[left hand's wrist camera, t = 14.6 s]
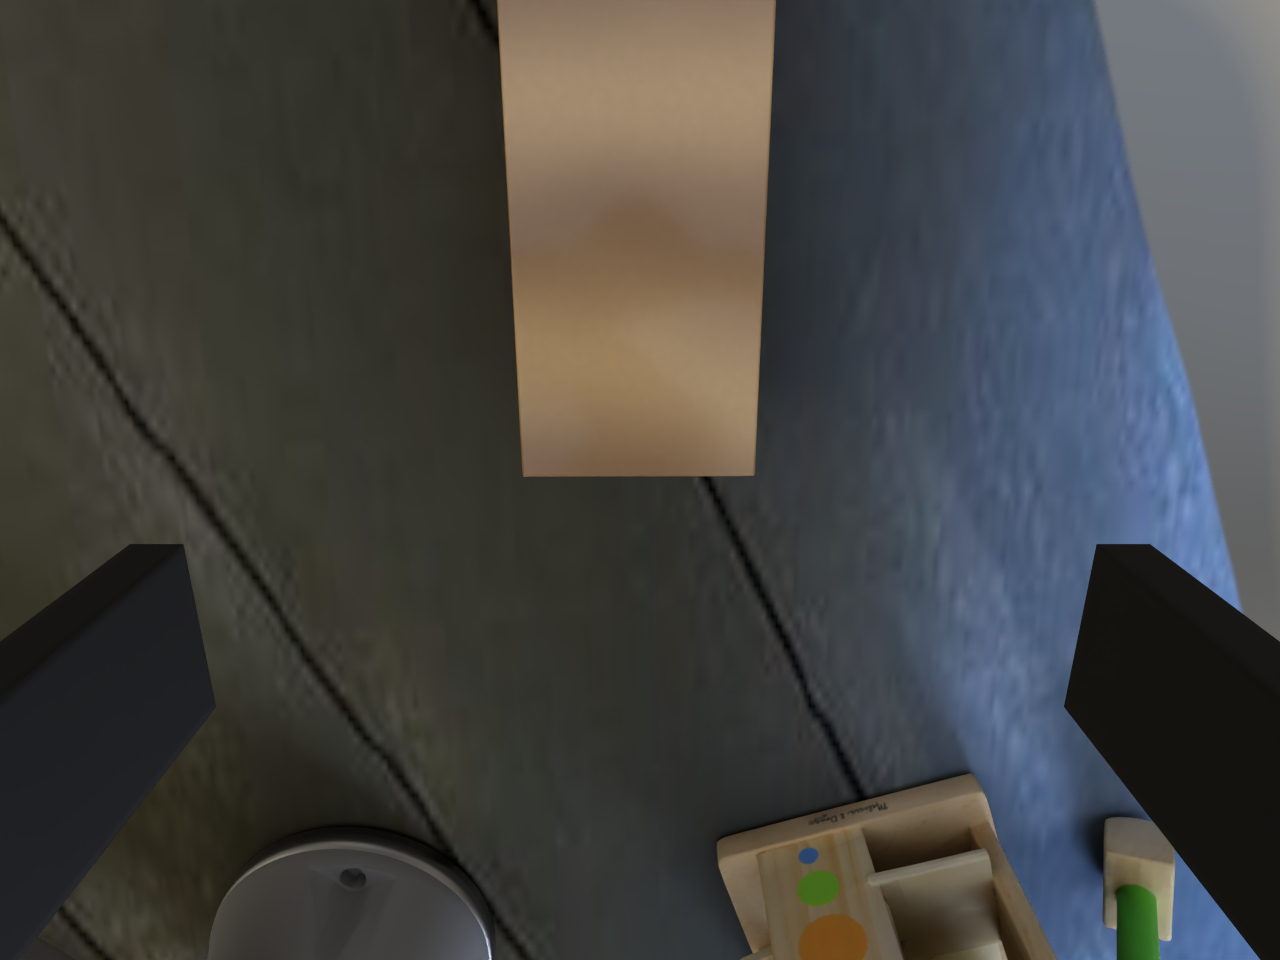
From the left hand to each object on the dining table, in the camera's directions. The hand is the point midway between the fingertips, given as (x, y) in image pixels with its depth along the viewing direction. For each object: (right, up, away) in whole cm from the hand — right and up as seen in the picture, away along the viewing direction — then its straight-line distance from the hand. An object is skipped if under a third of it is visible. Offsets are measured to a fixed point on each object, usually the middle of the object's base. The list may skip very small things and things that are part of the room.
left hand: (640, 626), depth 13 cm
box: (0, +19, +21) cm, 28 cm away
